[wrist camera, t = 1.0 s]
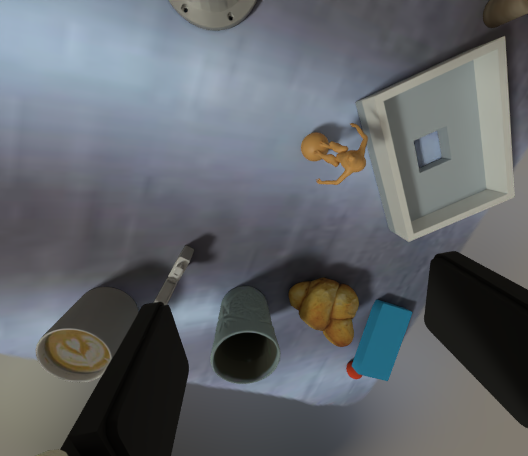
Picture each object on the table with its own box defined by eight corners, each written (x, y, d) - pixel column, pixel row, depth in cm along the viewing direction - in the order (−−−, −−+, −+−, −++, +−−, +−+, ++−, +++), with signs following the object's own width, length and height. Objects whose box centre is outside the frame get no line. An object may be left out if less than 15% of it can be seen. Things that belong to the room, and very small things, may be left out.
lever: (362, 291, 54) (334, 368, 55) (383, 303, 47) (351, 392, 48) (388, 299, 56) (361, 375, 56) (412, 312, 49) (381, 398, 49)
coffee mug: (83, 280, 42) (39, 320, 33) (143, 295, 44) (117, 337, 35) (72, 340, 46) (29, 391, 37) (128, 351, 48) (101, 403, 39)
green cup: (255, 273, 45) (259, 319, 34) (280, 313, 48) (292, 366, 37) (206, 299, 46) (195, 352, 35) (235, 336, 49) (233, 394, 38)
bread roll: (277, 299, 47) (284, 329, 40) (306, 258, 45) (319, 283, 38) (331, 324, 51) (347, 356, 43) (360, 287, 48) (382, 315, 41)
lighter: (185, 244, 42) (173, 268, 34) (194, 249, 42) (185, 273, 35) (166, 277, 44) (151, 306, 36) (176, 281, 44) (163, 311, 37)
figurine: (315, 113, 37) (348, 103, 26) (347, 135, 38) (392, 134, 27) (286, 164, 39) (305, 175, 28) (318, 183, 40) (348, 200, 29)
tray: (355, 102, 37) (374, 96, 32) (466, 50, 36) (505, 35, 31) (389, 229, 44) (408, 241, 39) (481, 189, 43) (514, 197, 38)
